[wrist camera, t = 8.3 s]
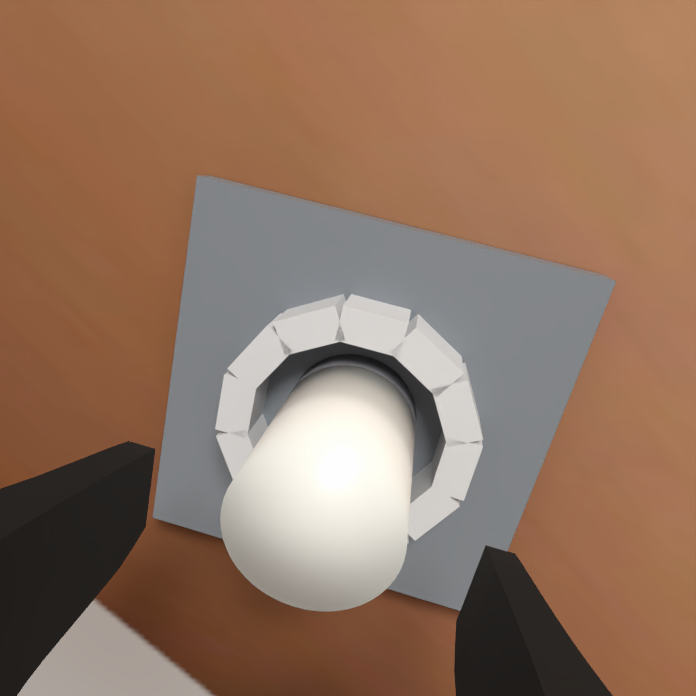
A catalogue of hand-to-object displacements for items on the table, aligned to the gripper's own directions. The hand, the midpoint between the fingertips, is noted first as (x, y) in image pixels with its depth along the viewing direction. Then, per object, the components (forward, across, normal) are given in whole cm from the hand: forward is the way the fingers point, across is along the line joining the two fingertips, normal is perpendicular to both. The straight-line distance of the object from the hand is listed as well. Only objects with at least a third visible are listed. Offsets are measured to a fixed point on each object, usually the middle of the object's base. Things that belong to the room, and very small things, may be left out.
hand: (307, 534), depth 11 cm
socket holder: (+7, 0, 0) cm, 7 cm away
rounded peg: (+6, 0, 0) cm, 6 cm away
